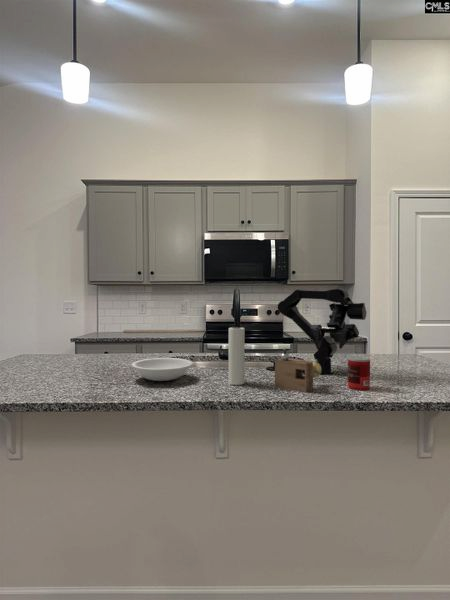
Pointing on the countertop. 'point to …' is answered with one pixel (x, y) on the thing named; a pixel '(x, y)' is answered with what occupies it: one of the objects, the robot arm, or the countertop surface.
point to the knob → (315, 369)
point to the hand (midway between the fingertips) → (328, 347)
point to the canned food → (358, 373)
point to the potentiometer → (284, 356)
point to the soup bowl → (162, 368)
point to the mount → (294, 375)
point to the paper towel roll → (236, 355)
